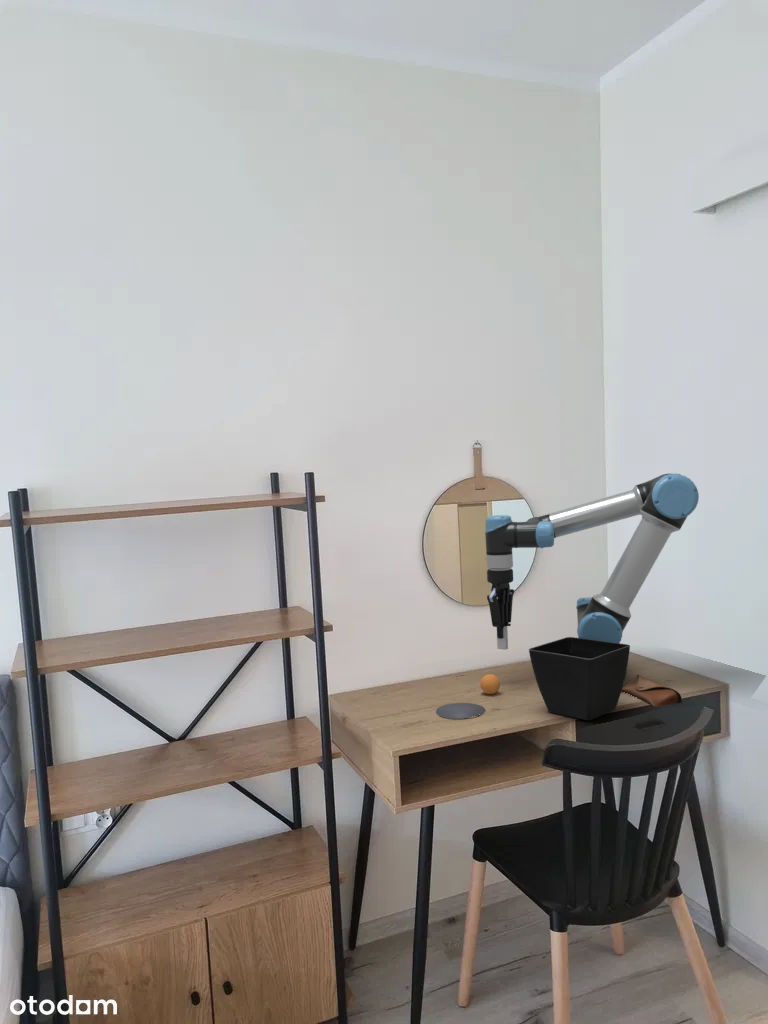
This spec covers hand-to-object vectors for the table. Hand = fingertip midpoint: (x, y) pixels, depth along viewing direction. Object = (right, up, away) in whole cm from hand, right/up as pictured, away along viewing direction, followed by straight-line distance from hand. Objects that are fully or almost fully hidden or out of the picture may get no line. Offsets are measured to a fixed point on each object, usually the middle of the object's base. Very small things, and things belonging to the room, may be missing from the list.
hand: (502, 648), depth 222 cm
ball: (-5, -9, -7) cm, 12 cm away
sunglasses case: (+36, -10, -17) cm, 42 cm away
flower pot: (+16, -12, -26) cm, 33 cm away
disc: (-14, -13, -21) cm, 28 cm away
